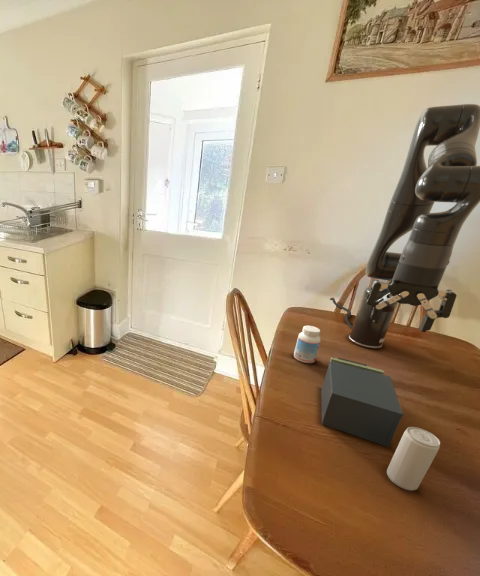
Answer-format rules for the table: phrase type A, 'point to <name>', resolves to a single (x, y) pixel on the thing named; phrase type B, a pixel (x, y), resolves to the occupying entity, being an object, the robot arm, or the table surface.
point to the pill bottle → (307, 344)
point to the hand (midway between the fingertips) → (397, 326)
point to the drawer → (356, 365)
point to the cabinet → (360, 403)
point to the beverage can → (413, 458)
